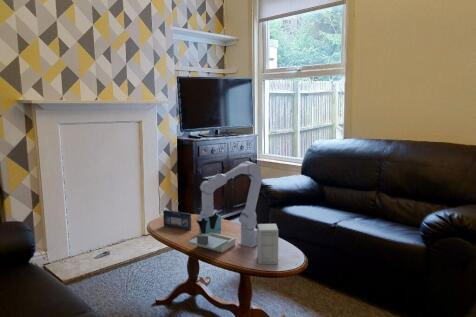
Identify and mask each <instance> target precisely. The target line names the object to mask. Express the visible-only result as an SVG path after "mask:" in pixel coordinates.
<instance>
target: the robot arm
mask: <svg viewBox="0 0 476 317" xmlns="http://www.w3.org/2000/svg"><path fill="white" fill-rule="evenodd" d="M261 170H262V168H261V167H260V165H259V164H257V163H255V162H251V161H249V160H245V161H243V162H241V163H240V164H238V165H237V166H235V167H234V168H231V169H230V170H229V171H227V172H226V173H224V174H223V173H216V176H214V177H212V178H208V180H204V181H202V182H201V183H200V186H199V189H200V191H201V211H200V214H198V216H197V217H196V223H197V224H198V227H199V226H200V230H201V233H204V234H205V233H206V225H207V222H208V221H206V220H204V219H205V218H207V217H209V221H210V229H214V228H215V224H216V221H217V219H218V217H219V215H220V214H219V215H216V214H218V209H214V192H215V191H216V190H217V189H218V188H221V187H222V186H224V185H225V184H227V182H228V181H229V180H230V179H232V178H235V177H237V176H239V175H241V174H242V175H247V177H249V179H250V186H249V189H248V195H247V199H246V202H245V207H244V209H243V210H242V211H241V214H240V215H239V217H238V221H239V223H240V241H239V242H237V244H238V245H241V246H244V247H247V248H248V247H249V248H254V247H255V246H256V247H257V228H256V227H257V225H258V222H257V213H256V208H257V202H258V199H259V194H260V192H261V191H260V190H261V186H262V180H263V177H262V172H261Z"/></svg>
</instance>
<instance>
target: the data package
mask: <svg viewBox="0 0 476 317" xmlns="http://www.w3.org/2000/svg"><path fill="white" fill-rule="evenodd" d="M216 215H219V217H218V219H217V221H216V224H215V228H214V229H210V221H209V217H207V218H205V219H204V220H206V221H208V222H207V225H206V233H205V234H204V233H201V230H200V226H199V225H198V230H199V235H200V234H201V235H202V234H204V235H206V234H209V233H215V234H220V235H222V234H221V233H222V217H221V214H216Z"/></svg>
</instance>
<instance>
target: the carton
mask: <svg viewBox="0 0 476 317" xmlns="http://www.w3.org/2000/svg"><path fill="white" fill-rule="evenodd" d="M206 235H208V236H212V237H216V238H220V239H224V240H228V242H227V243H225V244H224V245H222V246H220V247H218V248H216V249H214V250H213V249H209V248H205V247H202V246H198V245H196V246H197V247H198V248H202V249H206V250H209V251H213V252H217V253H221V254H223V253H225V252H226V251H228V250H230V249H232V248H234V247H235V246H236V237H233V236H228V235H223V234H215V233H209V234H206Z"/></svg>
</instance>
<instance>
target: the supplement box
mask: <svg viewBox="0 0 476 317" xmlns="http://www.w3.org/2000/svg"><path fill="white" fill-rule="evenodd" d="M256 227H257V228H256V229H257V245H256V247H257V250H256V252H257V254H256V255H257V256H256V257H257V262H258V265H275V264H276V265H278V264H279V229H278V225H277V223H257V224H256Z"/></svg>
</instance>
